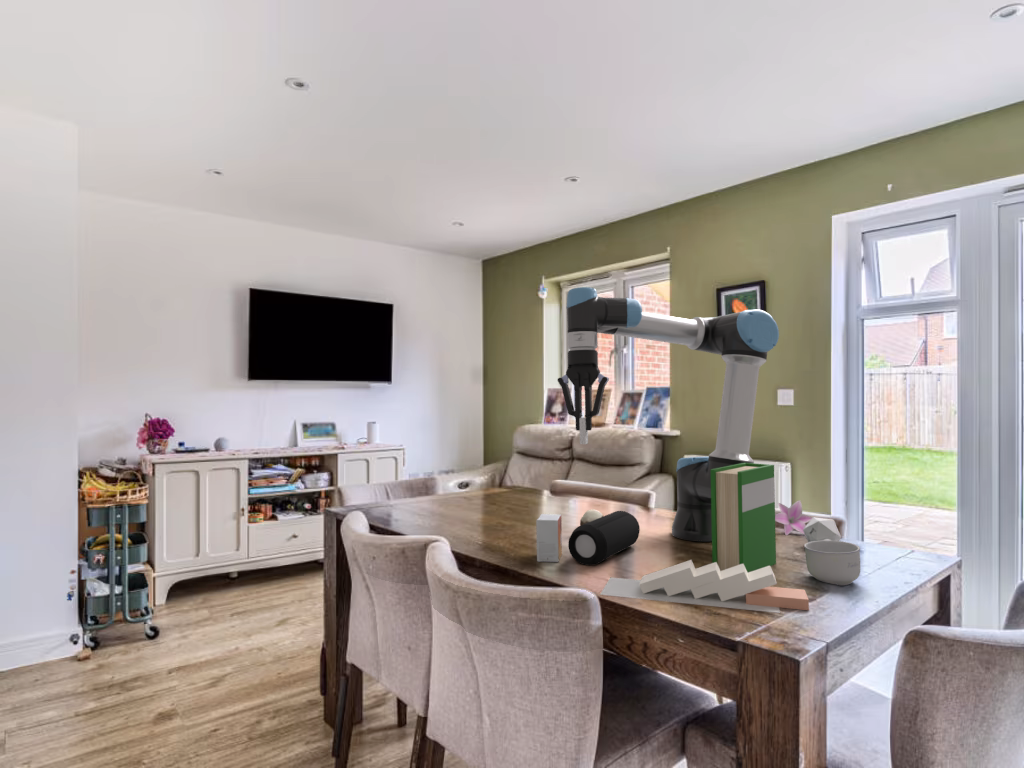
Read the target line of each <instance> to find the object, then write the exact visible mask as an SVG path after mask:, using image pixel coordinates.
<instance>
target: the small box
mask: <svg viewBox="0 0 1024 768" xmlns="http://www.w3.org/2000/svg"><path fill="white" fill-rule="evenodd" d="M535 523H536V528H535V529H536V561H537V562H543V563H544V562H545V563H546V562H547V563H560V559H561V558H562V555H563V550H562V549H563V538H562V537H563V536H562V535H563V533H562V532H563V531H562V514H557V513H555V514H554V513H551V514H550V513H549V514H548V513H541V514H540V515H539V517H538V518H537V519H536V520H535Z"/></svg>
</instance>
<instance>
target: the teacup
mask: <svg viewBox="0 0 1024 768" xmlns="http://www.w3.org/2000/svg"><path fill="white" fill-rule="evenodd" d="M803 545H804V553H805V562H806V568H807V571H808V573H809V575H810V576H812V577H813V578H814V579H816V580H817V581H820V582H823V583H825V584H831V585H837V586H847V585H850V584H852V583H853V582H855V581H856V580H857V579H858V578H859V576H860V574H861V555H860V551H861V547H860V546H859V545H858V544H855V543H851V542H848V541H841V540H839V541H831V540H830V539H825V540H822V541H812V542H808V541H807V542H806V543H804V544H803Z"/></svg>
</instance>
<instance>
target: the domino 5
mask: <svg viewBox="0 0 1024 768" xmlns="http://www.w3.org/2000/svg"><path fill="white" fill-rule="evenodd" d="M745 597H746V604H750V605H760V606H770V607H779V609H780V608H781V609H791V610H793V609H794V610H802V611H803V610H804V611H809V610H810V609H809V608H810V605H809V603H810V602H809V600H810V599H809V597H808V595H807V592H806V590H805V589H800V588H791V587H779V586H769V587H766V588H763V589H759V590H756V591H753V592H750V593H747V594H745Z"/></svg>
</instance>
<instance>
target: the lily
mask: <svg viewBox="0 0 1024 768" xmlns="http://www.w3.org/2000/svg"><path fill="white" fill-rule="evenodd" d="M801 501H802V500H797V501H795V502H794V503H792V504H791V505H790V507H788V506H787V505H785V504H783V503H781V502H778V503H777V504H778V507H779V510H780V512H778V513H775V522H777V523H779V524H782V525H783V528H784V535H785V536H788V535H790V534H791V533H792V532H793V531H794V530H795V531H797V532H799V533H801V534H802V535H804V536H805V534H804V531H803V529H804V528H805V526H806V525H807V524H806V523H809V522H810V520H811V519H812V518H813V517H812V516H809V515H806V514H803V504H802V502H801Z"/></svg>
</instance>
